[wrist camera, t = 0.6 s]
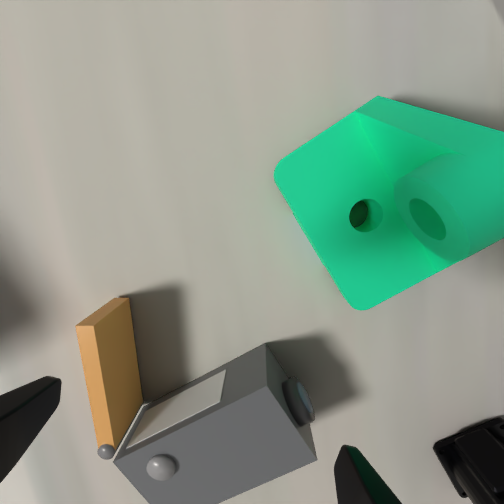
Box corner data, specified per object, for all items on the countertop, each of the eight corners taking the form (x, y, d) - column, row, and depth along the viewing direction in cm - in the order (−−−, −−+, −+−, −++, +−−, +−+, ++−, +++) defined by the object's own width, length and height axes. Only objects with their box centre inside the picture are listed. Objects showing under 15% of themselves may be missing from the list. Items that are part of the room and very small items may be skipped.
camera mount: (267, 171, 19) (275, 146, 9) (361, 109, 18) (488, 2, 8) (344, 300, 21) (421, 398, 11) (433, 252, 20) (607, 311, 10)
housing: (316, 398, 23) (333, 458, 18) (186, 460, 25) (166, 530, 20) (276, 336, 22) (281, 380, 17) (142, 406, 24) (110, 466, 19)
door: (129, 297, 21) (91, 326, 17) (144, 405, 24) (115, 459, 19) (107, 297, 21) (63, 326, 17) (124, 405, 24) (89, 459, 19)
